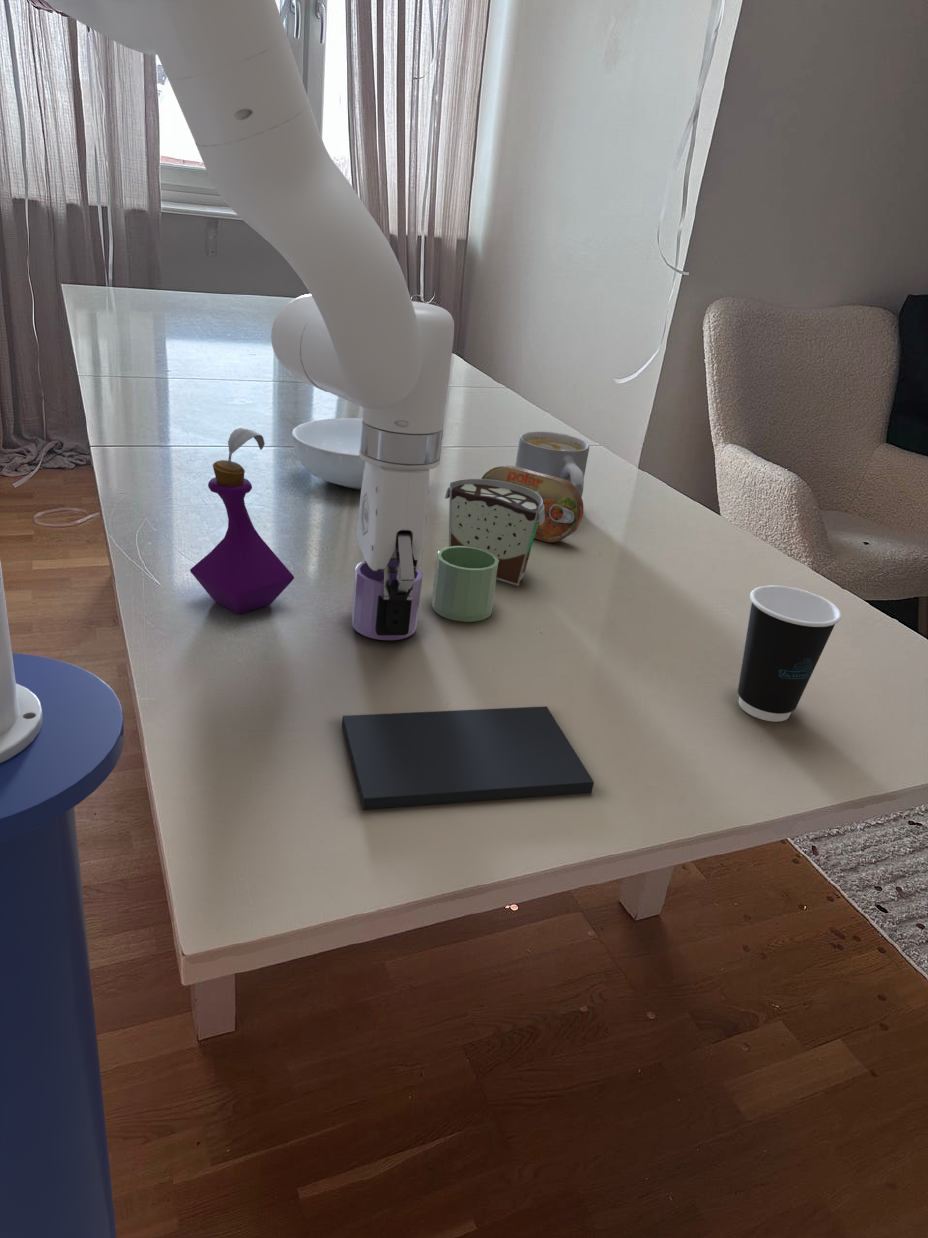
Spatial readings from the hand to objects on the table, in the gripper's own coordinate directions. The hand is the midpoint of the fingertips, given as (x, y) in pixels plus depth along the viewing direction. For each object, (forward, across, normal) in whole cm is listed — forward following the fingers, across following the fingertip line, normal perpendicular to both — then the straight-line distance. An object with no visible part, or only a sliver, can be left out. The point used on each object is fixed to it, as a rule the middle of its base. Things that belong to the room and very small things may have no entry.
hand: (385, 615), depth 90 cm
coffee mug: (+1, -35, +30) cm, 46 cm away
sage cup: (+1, -4, +9) cm, 10 cm away
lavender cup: (+1, 0, 0) cm, 1 cm away
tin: (+1, -27, +24) cm, 36 cm away
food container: (+1, -15, +16) cm, 22 cm away
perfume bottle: (+2, -6, -14) cm, 15 cm away
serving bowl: (+1, -47, +5) cm, 48 cm away
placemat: (+1, +23, +2) cm, 23 cm away
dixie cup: (+1, +18, +33) cm, 38 cm away
